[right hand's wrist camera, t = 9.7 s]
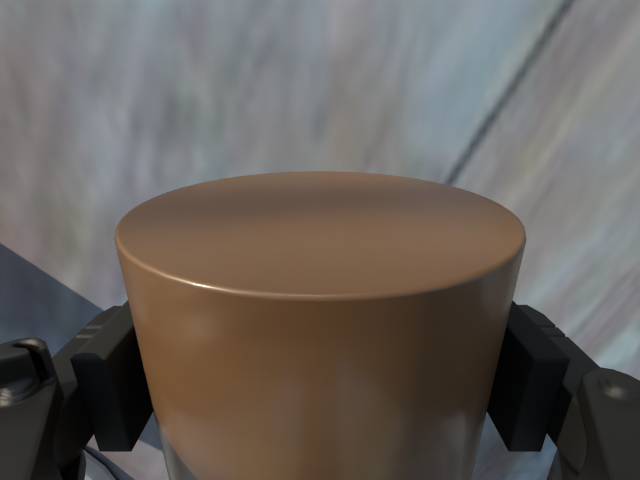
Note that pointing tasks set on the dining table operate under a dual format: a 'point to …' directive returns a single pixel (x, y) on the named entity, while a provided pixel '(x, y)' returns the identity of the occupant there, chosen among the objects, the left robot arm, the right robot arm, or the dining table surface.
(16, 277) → the dining table surface
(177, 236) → the rod
